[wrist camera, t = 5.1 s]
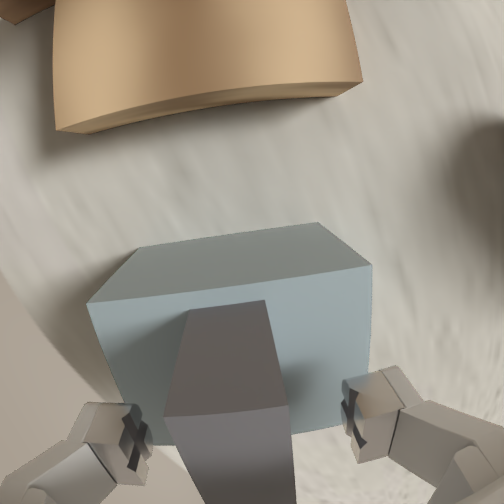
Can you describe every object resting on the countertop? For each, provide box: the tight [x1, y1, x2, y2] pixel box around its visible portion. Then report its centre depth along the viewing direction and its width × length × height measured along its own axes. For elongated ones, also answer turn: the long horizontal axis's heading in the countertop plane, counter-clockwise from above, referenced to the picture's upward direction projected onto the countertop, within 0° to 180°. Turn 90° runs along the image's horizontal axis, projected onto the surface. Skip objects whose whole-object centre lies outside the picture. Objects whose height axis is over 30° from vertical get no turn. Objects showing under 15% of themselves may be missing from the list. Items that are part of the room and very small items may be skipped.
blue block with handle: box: [86, 222, 372, 504], centre depth 10 cm, size 8×6×10 cm
